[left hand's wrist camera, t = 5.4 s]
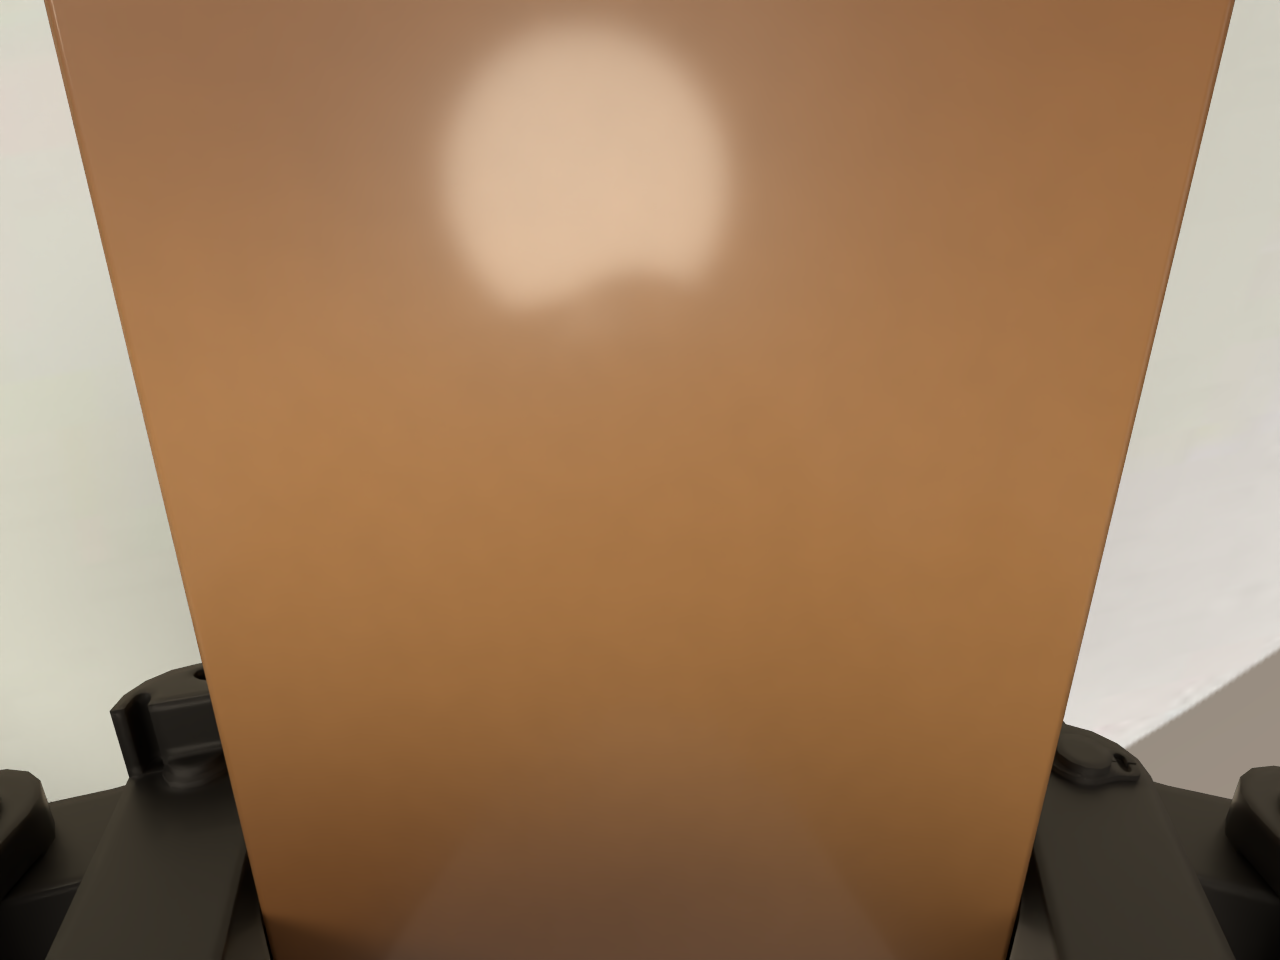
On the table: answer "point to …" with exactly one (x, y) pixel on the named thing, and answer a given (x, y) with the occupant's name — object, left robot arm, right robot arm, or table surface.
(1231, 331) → the table surface
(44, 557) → the table surface
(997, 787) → the bar
